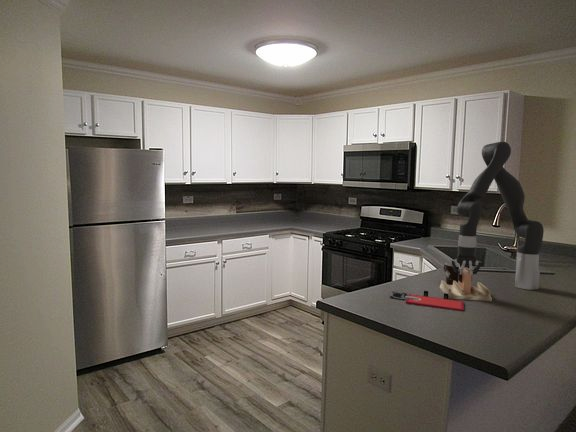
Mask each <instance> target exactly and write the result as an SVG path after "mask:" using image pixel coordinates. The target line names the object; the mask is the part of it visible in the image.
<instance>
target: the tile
mask: <svg viewBox="0 0 576 432" xmlns="http://www.w3.org/2000/svg"><path fill="white" fill-rule="evenodd" d="M471 279H472V280H473V275H472V274H471V273H470V272H468V269H466V268H464V270H463V273H462V283H460V282H459V280H458V284H459V285H460V286H461V287H462V288H463V289H464V294H471V285H472V282H471Z"/></svg>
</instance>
